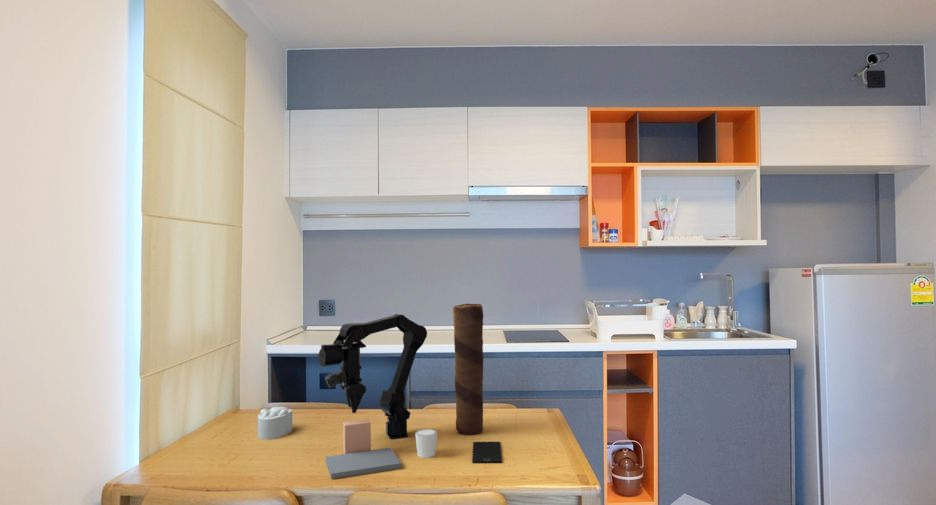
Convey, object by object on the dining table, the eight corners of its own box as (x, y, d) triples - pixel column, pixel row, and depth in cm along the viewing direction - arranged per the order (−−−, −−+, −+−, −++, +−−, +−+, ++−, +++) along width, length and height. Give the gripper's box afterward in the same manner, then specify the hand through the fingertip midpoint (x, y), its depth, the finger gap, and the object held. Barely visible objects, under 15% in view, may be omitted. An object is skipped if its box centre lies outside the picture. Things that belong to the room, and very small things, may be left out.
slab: (368, 450, 175) (368, 419, 175) (371, 454, 171) (370, 422, 171) (343, 454, 172) (343, 422, 172) (345, 458, 168) (344, 425, 169)
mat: (390, 452, 173) (390, 447, 173) (401, 468, 159) (401, 463, 159) (325, 461, 166) (325, 456, 166) (331, 479, 152) (331, 473, 152)
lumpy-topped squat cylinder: (296, 428, 199) (295, 404, 200) (278, 440, 187) (278, 414, 187) (269, 427, 201) (269, 404, 201) (250, 439, 188) (250, 414, 188)
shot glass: (420, 460, 166) (420, 436, 166) (412, 453, 172) (411, 430, 172) (441, 456, 169) (440, 433, 169) (432, 449, 175) (431, 427, 175)
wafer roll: (480, 437, 186) (478, 305, 187) (451, 434, 189) (449, 305, 190) (489, 428, 196) (487, 303, 197) (461, 425, 199) (459, 302, 200)
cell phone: (472, 464, 162) (472, 461, 162) (473, 444, 180) (473, 441, 180) (502, 464, 162) (502, 461, 162) (500, 444, 180) (500, 441, 180)
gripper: (323, 359, 185) (324, 405, 185) (329, 369, 168) (330, 420, 168) (356, 357, 189) (357, 402, 189) (365, 366, 172) (366, 416, 172)
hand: (352, 409), depth 179 cm, fingers open, 7 cm apart
